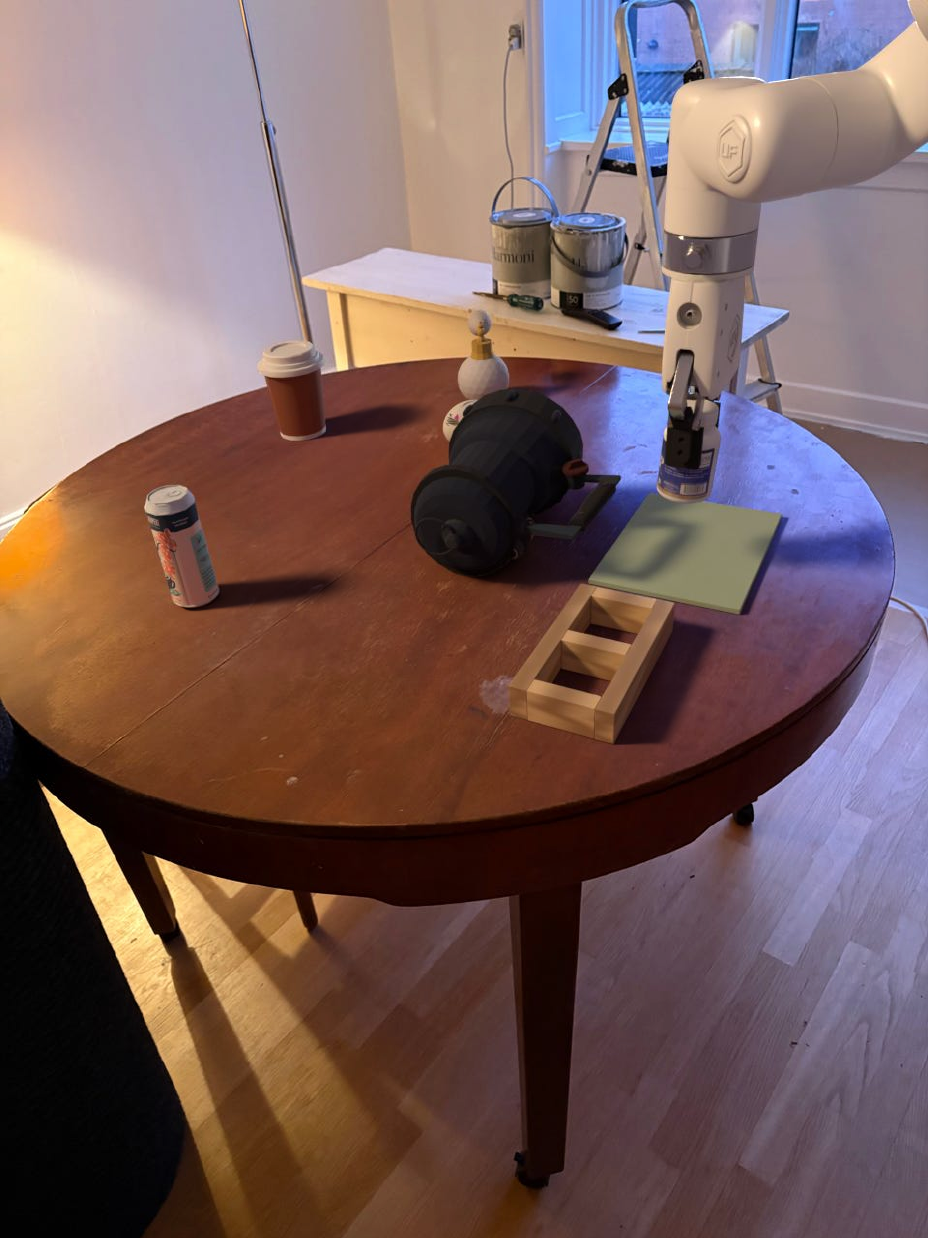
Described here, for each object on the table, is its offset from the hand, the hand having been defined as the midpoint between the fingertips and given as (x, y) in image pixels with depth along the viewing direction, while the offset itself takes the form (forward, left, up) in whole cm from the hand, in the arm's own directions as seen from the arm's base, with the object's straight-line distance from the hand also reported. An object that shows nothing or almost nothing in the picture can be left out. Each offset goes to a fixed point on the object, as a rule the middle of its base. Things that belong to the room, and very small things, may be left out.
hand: (691, 451), depth 84 cm
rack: (+2, +20, -12) cm, 24 cm away
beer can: (+44, +24, -13) cm, 52 cm away
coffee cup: (+59, -16, -13) cm, 63 cm away
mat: (0, -3, -12) cm, 13 cm away
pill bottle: (+1, 0, -5) cm, 5 cm away
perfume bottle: (+40, -35, -13) cm, 55 cm away
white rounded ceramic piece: (+33, -18, -13) cm, 40 cm away
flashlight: (+17, +3, -13) cm, 21 cm away
